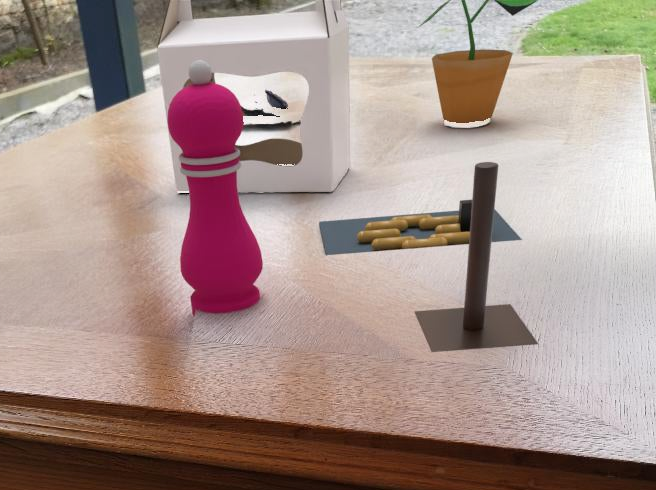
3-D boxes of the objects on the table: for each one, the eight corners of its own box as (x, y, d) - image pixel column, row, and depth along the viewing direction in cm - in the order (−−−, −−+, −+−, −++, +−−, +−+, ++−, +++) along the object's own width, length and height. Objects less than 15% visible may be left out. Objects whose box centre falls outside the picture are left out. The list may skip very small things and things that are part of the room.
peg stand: (509, 317, 65) (528, 147, 58) (536, 358, 59) (562, 173, 51) (413, 324, 66) (419, 156, 58) (430, 366, 59) (440, 183, 51)
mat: (493, 212, 89) (493, 207, 89) (539, 264, 75) (539, 259, 75) (319, 225, 90) (319, 221, 90) (331, 280, 76) (331, 275, 75)
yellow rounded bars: (479, 220, 86) (482, 187, 84) (501, 246, 78) (504, 212, 76) (352, 230, 86) (352, 198, 84) (361, 257, 79) (361, 223, 77)
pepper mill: (250, 291, 75) (228, 51, 63) (278, 317, 69) (259, 58, 57) (178, 306, 73) (141, 61, 61) (200, 334, 67) (164, 70, 56)
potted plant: (403, 137, 125) (409, -100, 108) (423, 114, 139) (432, -99, 122) (518, 136, 120) (544, -113, 102) (527, 112, 134) (552, -111, 116)
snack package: (270, 117, 148) (222, 127, 142) (272, 80, 144) (223, 88, 138) (313, 135, 142) (265, 146, 136) (317, 96, 138) (267, 106, 132)
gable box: (352, 168, 111) (349, -78, 95) (335, 192, 101) (328, -77, 85) (205, 170, 117) (178, -62, 100) (174, 194, 106) (139, -59, 90)
